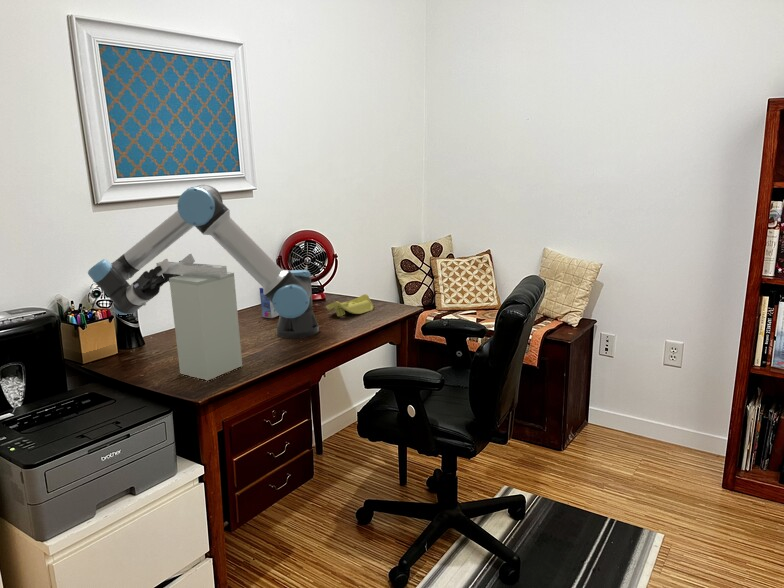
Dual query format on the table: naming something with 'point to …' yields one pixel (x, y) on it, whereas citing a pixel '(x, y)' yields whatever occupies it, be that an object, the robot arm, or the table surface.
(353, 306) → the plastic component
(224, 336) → the pedestal
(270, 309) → the ink cartridge box
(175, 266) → the rail bar
